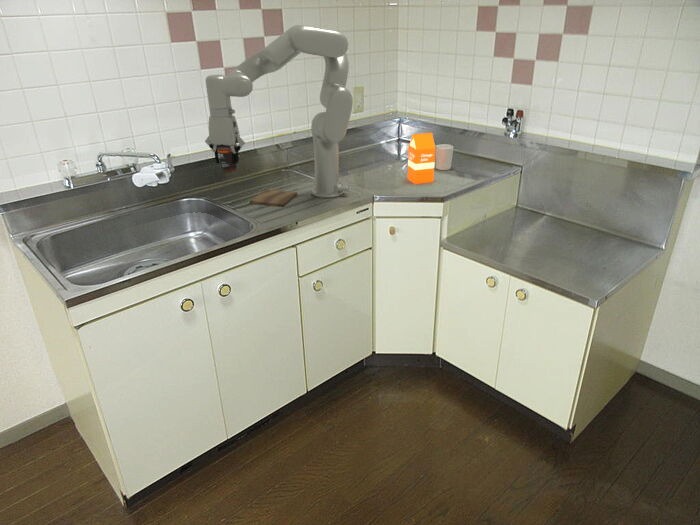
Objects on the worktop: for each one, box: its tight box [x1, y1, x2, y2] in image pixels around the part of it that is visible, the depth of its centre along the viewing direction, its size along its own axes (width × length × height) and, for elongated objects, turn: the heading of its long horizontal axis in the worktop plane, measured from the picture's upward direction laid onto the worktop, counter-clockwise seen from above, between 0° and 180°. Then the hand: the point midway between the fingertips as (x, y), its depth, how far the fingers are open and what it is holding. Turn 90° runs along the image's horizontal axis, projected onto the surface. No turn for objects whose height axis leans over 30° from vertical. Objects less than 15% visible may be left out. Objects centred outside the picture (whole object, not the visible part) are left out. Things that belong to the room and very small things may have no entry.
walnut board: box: [249, 188, 298, 208], centre depth 207 cm, size 14×14×1 cm
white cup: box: [435, 143, 454, 171], centre depth 239 cm, size 8×8×10 cm
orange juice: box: [406, 132, 436, 185], centre depth 222 cm, size 8×9×20 cm
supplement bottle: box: [217, 144, 237, 174], centre depth 191 cm, size 6×6×11 cm
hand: (227, 162), depth 192 cm, fingers closed on supplement bottle, 6 cm apart
